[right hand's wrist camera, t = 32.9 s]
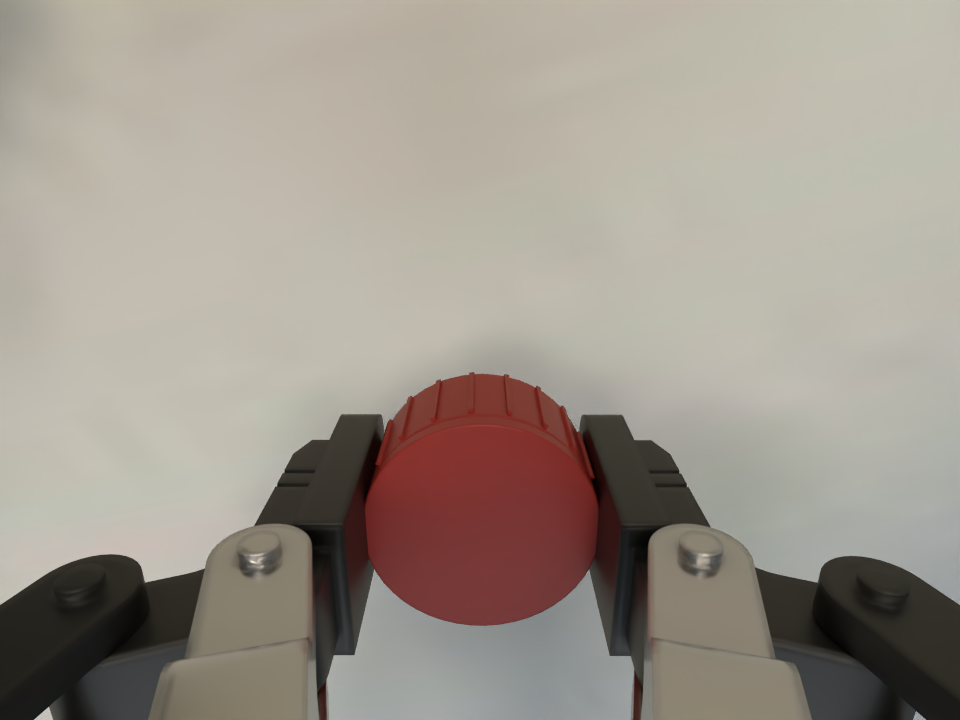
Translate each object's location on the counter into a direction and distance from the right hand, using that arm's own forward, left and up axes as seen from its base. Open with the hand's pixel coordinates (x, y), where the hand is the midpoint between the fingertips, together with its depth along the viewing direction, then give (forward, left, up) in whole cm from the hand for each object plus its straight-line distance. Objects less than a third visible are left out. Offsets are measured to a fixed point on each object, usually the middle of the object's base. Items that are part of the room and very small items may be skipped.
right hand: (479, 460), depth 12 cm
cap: (0, 0, +2) cm, 2 cm away
